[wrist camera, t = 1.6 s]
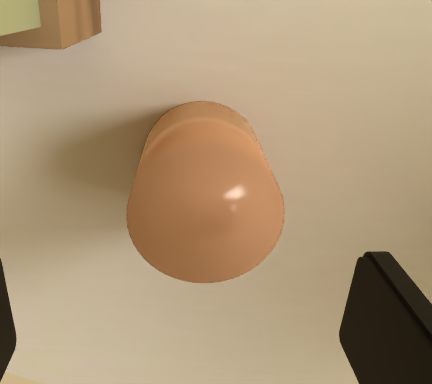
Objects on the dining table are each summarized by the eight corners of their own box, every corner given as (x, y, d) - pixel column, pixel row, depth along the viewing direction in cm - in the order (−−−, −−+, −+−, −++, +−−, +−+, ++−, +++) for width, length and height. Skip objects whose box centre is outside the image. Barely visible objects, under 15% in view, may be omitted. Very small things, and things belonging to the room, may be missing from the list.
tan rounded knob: (265, 104, 19) (294, 148, 14) (252, 210, 21) (274, 284, 16) (143, 98, 19) (123, 141, 13) (144, 207, 21) (128, 281, 16)
